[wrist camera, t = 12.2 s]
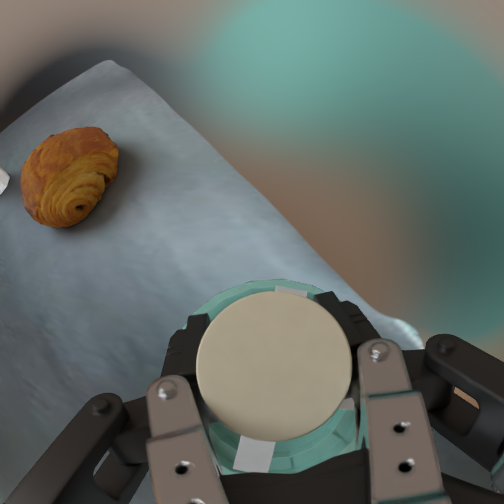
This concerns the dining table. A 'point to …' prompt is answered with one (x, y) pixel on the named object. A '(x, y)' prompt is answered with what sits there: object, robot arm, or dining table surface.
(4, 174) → the pepper shaker
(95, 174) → the croissant
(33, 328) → the dining table surface
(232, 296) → the processor bowl
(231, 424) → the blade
